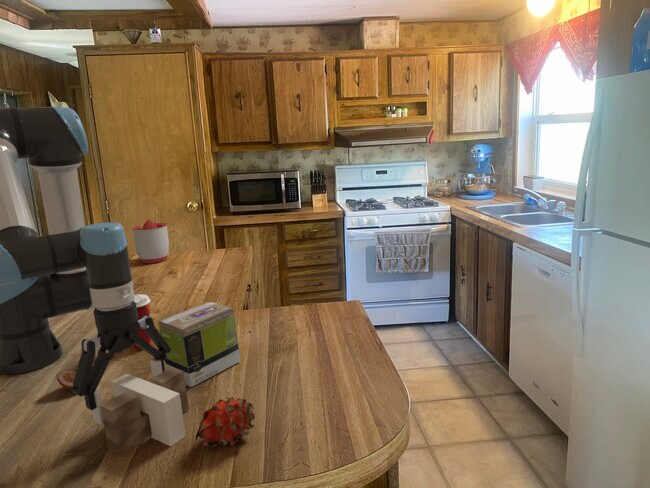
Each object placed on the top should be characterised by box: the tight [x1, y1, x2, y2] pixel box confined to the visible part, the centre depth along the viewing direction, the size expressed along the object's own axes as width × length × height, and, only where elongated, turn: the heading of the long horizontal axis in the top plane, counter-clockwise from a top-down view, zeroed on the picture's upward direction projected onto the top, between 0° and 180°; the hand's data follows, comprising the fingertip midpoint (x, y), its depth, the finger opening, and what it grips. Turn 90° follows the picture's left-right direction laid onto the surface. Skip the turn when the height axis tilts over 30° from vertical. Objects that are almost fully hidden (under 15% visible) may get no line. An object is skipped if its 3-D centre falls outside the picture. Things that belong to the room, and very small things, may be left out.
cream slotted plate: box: [111, 373, 186, 447], centre depth 91 cm, size 16×4×9 cm, turn 57°
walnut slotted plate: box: [100, 367, 190, 456], centre depth 91 cm, size 16×4×9 cm, turn 146°
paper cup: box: [130, 293, 154, 352], centre depth 128 cm, size 8×8×14 cm
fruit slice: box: [56, 362, 94, 390], centre depth 109 cm, size 8×7×5 cm
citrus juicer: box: [131, 219, 170, 265], centre depth 222 cm, size 16×17×20 cm
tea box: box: [158, 300, 241, 388], centre depth 113 cm, size 15×10×15 cm
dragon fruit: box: [195, 396, 255, 447], centre depth 87 cm, size 8×8×12 cm
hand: (131, 404), depth 94 cm, fingers open, 13 cm apart
